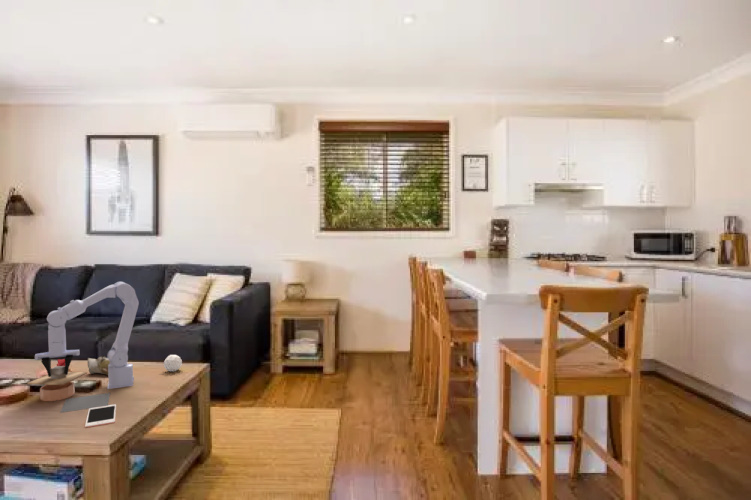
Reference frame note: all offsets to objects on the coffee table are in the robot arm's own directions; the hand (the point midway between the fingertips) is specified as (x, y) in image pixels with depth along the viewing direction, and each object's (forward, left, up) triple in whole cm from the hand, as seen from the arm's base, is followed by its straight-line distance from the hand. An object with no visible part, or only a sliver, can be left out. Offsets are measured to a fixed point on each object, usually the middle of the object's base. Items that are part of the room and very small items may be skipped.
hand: (58, 375), depth 185 cm
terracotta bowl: (0, -1, -9) cm, 9 cm away
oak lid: (0, 0, -1) cm, 1 cm away
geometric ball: (-43, -17, -9) cm, 47 cm away
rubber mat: (-11, +12, -9) cm, 19 cm away
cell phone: (-17, +28, -10) cm, 34 cm away
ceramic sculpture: (-14, -27, -9) cm, 32 cm away
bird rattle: (+1, -19, -9) cm, 21 cm away
